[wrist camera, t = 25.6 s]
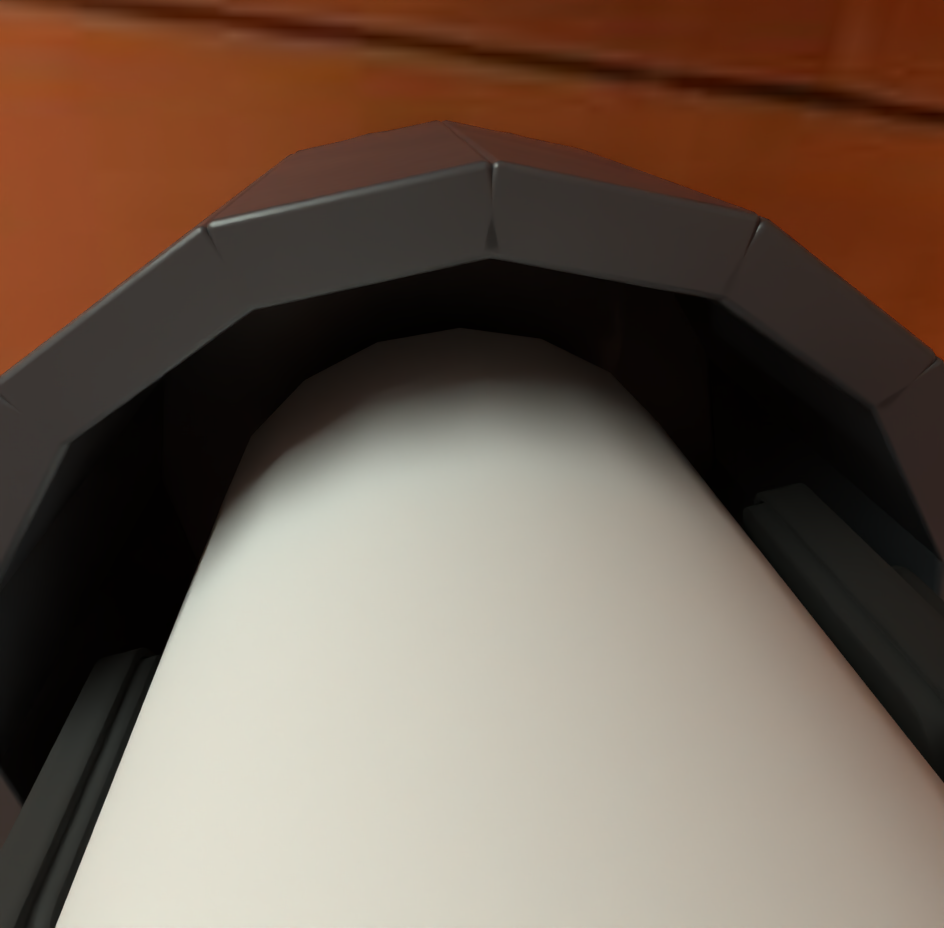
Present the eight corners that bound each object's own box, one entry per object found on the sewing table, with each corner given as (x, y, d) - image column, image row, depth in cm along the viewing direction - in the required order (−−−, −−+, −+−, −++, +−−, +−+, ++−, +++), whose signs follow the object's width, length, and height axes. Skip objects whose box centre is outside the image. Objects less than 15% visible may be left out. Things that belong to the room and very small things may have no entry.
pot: (-150, 247, 13) (-711, 423, 6) (886, 18, 13) (1406, -43, 6) (134, 763, 19) (-9, 1148, 12) (864, 603, 19) (1131, 898, 12)
